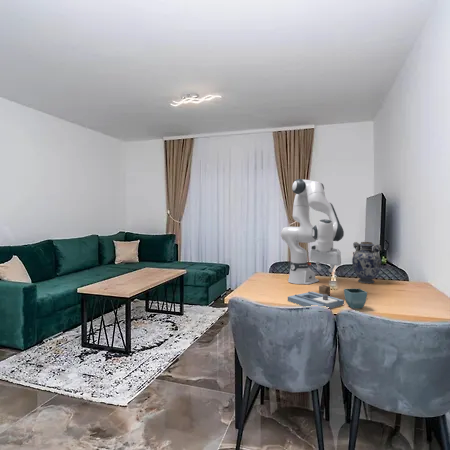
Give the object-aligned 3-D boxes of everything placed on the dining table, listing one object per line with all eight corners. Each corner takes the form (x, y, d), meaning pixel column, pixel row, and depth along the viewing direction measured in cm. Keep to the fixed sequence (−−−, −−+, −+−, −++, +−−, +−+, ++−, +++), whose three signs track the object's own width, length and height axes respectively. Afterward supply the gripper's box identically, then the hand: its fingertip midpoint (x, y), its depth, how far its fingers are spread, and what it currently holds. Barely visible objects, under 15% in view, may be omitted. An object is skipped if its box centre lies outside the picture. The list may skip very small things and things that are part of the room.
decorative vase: (388, 282, 226) (388, 242, 225) (373, 286, 216) (373, 244, 214) (360, 277, 244) (360, 240, 242) (345, 281, 234) (345, 242, 232)
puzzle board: (312, 295, 193) (312, 290, 193) (343, 304, 175) (344, 298, 175) (287, 301, 182) (287, 295, 182) (318, 311, 164) (318, 304, 164)
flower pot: (343, 305, 175) (343, 288, 174) (358, 304, 175) (359, 288, 175) (350, 310, 166) (351, 292, 166) (367, 309, 167) (367, 292, 166)
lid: (324, 297, 179) (324, 291, 179) (337, 301, 172) (337, 295, 172) (312, 300, 174) (312, 294, 174) (326, 304, 167) (326, 298, 167)
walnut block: (323, 295, 195) (324, 285, 195) (330, 296, 191) (330, 286, 191) (318, 296, 193) (319, 286, 192) (325, 297, 189) (325, 287, 189)
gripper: (343, 248, 184) (343, 273, 184) (315, 245, 201) (315, 267, 201) (336, 249, 180) (336, 274, 181) (308, 246, 197) (308, 268, 198)
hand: (324, 270), depth 191 cm, fingers open, 7 cm apart
